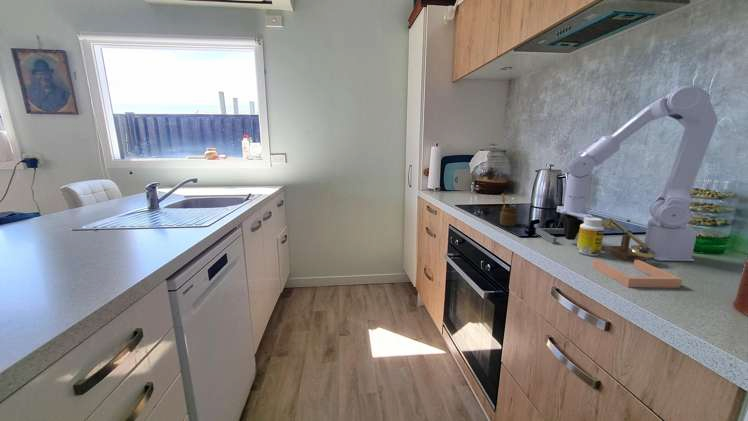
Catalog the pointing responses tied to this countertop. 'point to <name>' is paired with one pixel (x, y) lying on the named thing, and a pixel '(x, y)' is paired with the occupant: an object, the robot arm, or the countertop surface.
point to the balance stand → (623, 250)
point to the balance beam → (639, 249)
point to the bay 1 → (547, 231)
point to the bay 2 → (657, 279)
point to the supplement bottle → (590, 236)
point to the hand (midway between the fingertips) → (570, 239)
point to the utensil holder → (508, 214)
